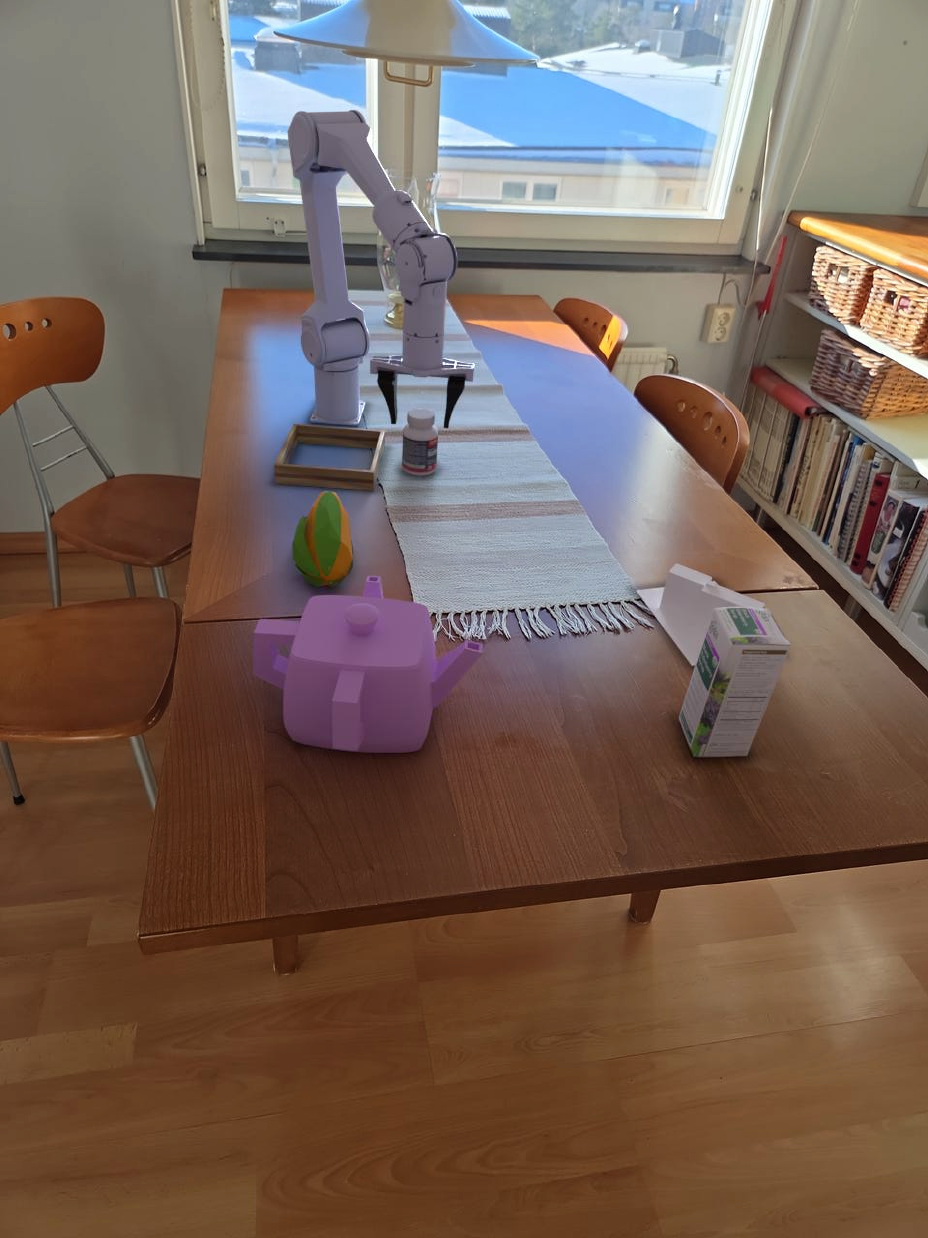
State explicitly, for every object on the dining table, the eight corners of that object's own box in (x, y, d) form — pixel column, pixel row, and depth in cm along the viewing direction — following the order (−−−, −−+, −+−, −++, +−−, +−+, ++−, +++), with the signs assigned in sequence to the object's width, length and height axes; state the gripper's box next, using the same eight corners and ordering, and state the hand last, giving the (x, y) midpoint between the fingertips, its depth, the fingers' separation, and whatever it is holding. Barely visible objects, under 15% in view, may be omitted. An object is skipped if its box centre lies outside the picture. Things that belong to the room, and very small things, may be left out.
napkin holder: (780, 653, 97) (794, 613, 94) (692, 666, 94) (704, 626, 91) (714, 580, 108) (725, 542, 105) (634, 590, 105) (642, 552, 102)
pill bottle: (431, 478, 126) (434, 423, 120) (397, 473, 126) (398, 417, 121) (439, 463, 130) (442, 408, 124) (407, 458, 130) (408, 403, 125)
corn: (289, 547, 94) (297, 464, 110) (289, 602, 99) (296, 515, 114) (356, 550, 95) (354, 468, 111) (353, 604, 100) (351, 518, 116)
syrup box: (676, 718, 87) (709, 605, 78) (731, 717, 88) (770, 605, 79) (692, 758, 83) (730, 643, 74) (750, 758, 83) (794, 643, 75)
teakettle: (245, 701, 85) (232, 602, 78) (377, 636, 95) (377, 542, 87) (346, 801, 76) (343, 700, 68) (482, 718, 85) (492, 621, 78)
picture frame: (294, 441, 133) (293, 423, 131) (384, 447, 133) (385, 430, 131) (275, 483, 121) (273, 465, 120) (373, 491, 121) (373, 472, 120)
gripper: (367, 336, 112) (367, 431, 120) (475, 344, 112) (468, 438, 121) (373, 319, 118) (373, 410, 126) (476, 327, 118) (470, 418, 126)
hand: (420, 423), depth 124 cm, fingers open, 7 cm apart
